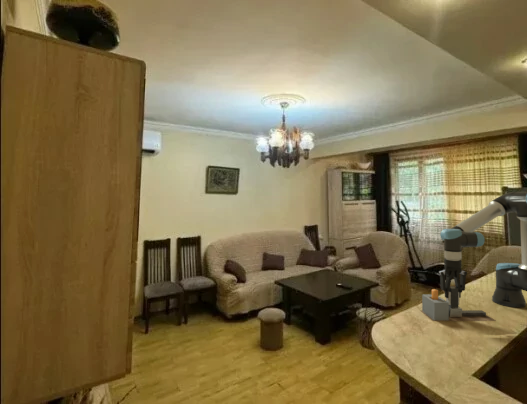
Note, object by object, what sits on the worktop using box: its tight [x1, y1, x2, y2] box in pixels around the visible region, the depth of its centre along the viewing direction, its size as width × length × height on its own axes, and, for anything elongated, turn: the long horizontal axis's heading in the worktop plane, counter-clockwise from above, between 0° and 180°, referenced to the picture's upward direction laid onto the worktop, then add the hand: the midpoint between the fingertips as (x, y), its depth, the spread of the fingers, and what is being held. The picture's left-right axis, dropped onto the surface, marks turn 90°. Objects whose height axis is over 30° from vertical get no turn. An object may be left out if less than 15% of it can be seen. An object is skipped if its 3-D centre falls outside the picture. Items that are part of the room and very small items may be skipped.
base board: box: [420, 310, 497, 322], centre depth 155 cm, size 31×13×1 cm, turn 88°
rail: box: [462, 309, 487, 317], centre depth 154 cm, size 22×3×2 cm, turn 88°
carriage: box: [449, 285, 463, 317], centre depth 154 cm, size 6×6×14 cm
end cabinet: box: [421, 293, 449, 320], centre depth 155 cm, size 7×12×9 cm, turn 178°
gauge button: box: [431, 288, 439, 300], centre depth 155 cm, size 3×3×8 cm
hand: (452, 303), depth 154 cm, fingers closed on carriage, 4 cm apart
